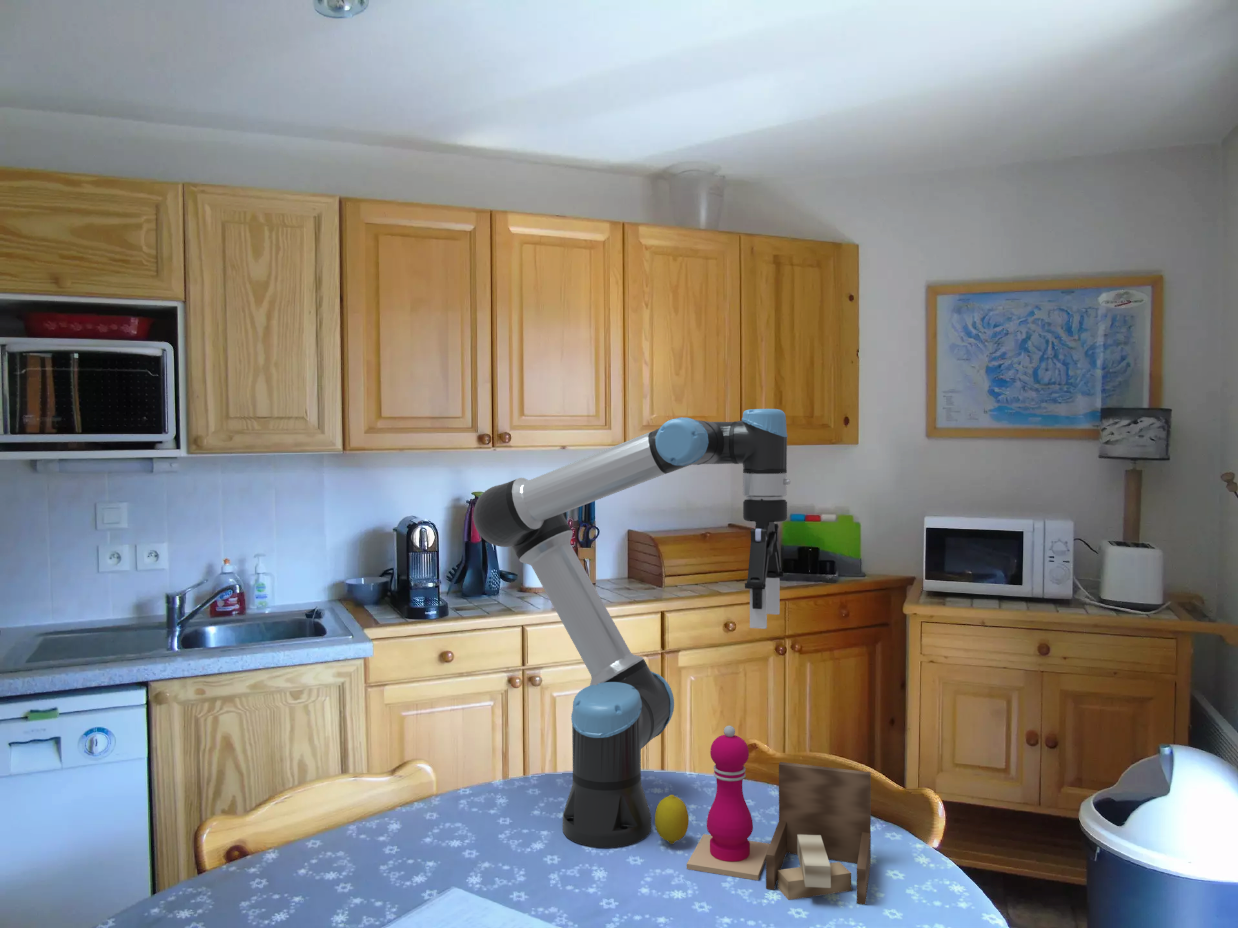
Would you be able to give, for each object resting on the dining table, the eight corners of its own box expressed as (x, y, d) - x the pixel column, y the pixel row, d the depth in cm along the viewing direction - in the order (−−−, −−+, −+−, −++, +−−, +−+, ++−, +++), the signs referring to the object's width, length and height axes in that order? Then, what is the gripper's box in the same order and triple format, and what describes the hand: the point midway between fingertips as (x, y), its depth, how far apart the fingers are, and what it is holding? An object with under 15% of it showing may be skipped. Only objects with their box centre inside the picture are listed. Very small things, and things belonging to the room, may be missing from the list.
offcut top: (830, 887, 119) (830, 866, 119) (805, 886, 120) (805, 865, 119) (820, 854, 129) (820, 835, 129) (797, 853, 129) (797, 834, 129)
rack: (766, 888, 124) (765, 792, 124) (780, 848, 137) (779, 761, 137) (865, 904, 120) (865, 805, 119) (870, 861, 132) (870, 772, 132)
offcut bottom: (788, 902, 121) (788, 881, 121) (777, 890, 124) (777, 869, 124) (851, 893, 124) (851, 872, 124) (839, 881, 127) (839, 861, 127)
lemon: (693, 839, 140) (693, 791, 140) (681, 854, 135) (681, 803, 135) (662, 833, 142) (662, 786, 142) (649, 847, 137) (649, 798, 137)
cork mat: (686, 868, 130) (686, 863, 130) (703, 838, 141) (703, 833, 141) (758, 880, 127) (758, 874, 127) (770, 848, 137) (770, 843, 137)
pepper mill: (712, 839, 138) (711, 717, 138) (756, 845, 136) (756, 721, 136) (702, 859, 132) (701, 730, 131) (748, 866, 129) (748, 735, 129)
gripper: (775, 501, 134) (775, 635, 134) (796, 495, 158) (797, 609, 158) (728, 501, 137) (728, 632, 137) (756, 495, 160) (756, 607, 160)
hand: (765, 620), depth 147 cm, fingers open, 13 cm apart
